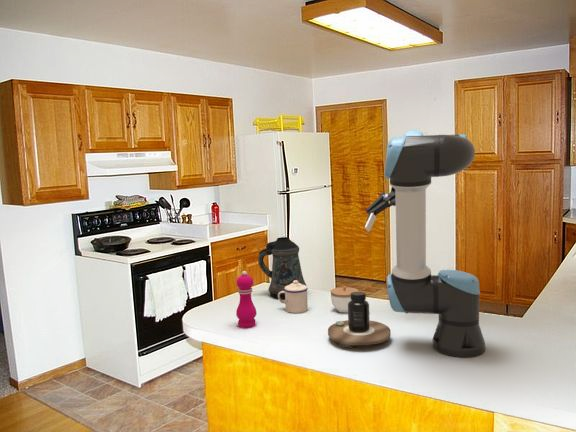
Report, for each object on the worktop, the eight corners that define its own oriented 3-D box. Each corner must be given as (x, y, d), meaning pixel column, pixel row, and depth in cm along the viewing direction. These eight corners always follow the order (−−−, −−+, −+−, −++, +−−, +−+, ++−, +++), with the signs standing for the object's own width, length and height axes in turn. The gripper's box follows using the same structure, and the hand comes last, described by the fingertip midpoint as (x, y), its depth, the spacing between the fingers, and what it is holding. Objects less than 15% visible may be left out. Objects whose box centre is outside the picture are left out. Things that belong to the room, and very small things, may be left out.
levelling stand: (402, 336, 162) (402, 324, 161) (368, 357, 147) (368, 343, 146) (351, 324, 175) (350, 313, 174) (315, 341, 160) (315, 329, 160)
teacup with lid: (310, 307, 197) (309, 278, 195) (304, 314, 188) (303, 284, 187) (282, 305, 200) (281, 277, 199) (274, 312, 192) (273, 283, 190)
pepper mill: (254, 329, 174) (251, 273, 172) (234, 328, 176) (231, 273, 173) (259, 322, 181) (256, 268, 179) (240, 321, 183) (237, 268, 180)
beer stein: (314, 295, 212) (312, 238, 209) (273, 304, 202) (271, 243, 199) (294, 287, 226) (292, 233, 223) (256, 294, 217) (253, 238, 214)
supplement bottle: (373, 328, 161) (373, 292, 159) (361, 334, 156) (361, 297, 154) (356, 324, 165) (355, 289, 164) (344, 330, 160) (343, 294, 159)
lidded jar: (325, 311, 190) (324, 287, 189) (341, 304, 198) (340, 281, 197) (349, 316, 183) (348, 292, 182) (364, 309, 192) (364, 285, 190)
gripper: (439, 191, 176) (420, 240, 166) (378, 190, 192) (357, 234, 183) (433, 177, 171) (412, 226, 162) (371, 177, 187) (349, 222, 178)
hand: (383, 231), depth 172 cm, fingers open, 13 cm apart
